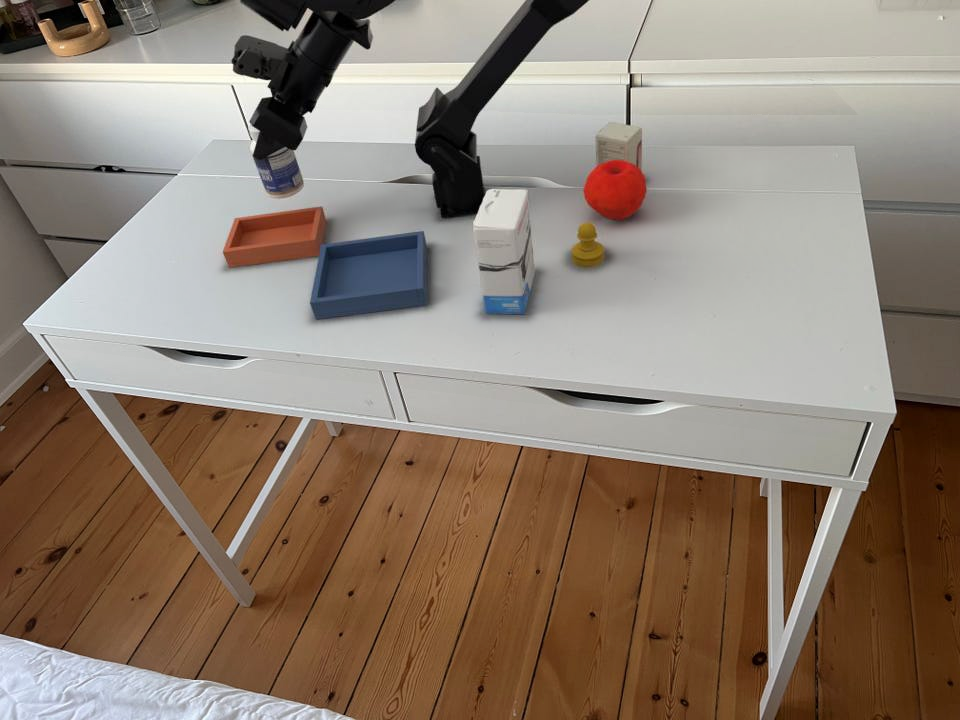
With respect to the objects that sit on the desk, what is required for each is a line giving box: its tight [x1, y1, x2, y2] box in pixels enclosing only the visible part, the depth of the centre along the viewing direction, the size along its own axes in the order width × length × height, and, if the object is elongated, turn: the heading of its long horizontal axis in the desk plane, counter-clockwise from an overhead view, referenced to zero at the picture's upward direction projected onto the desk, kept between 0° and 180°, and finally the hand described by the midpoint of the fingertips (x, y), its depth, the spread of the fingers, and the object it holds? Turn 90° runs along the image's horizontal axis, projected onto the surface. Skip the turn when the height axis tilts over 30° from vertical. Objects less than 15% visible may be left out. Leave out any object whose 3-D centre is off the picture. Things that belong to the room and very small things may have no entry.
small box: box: [594, 121, 643, 172], centre depth 105 cm, size 5×4×8 cm
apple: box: [582, 160, 648, 221], centre depth 99 cm, size 8×8×7 cm
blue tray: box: [309, 230, 428, 320], centre depth 97 cm, size 14×13×3 cm
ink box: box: [472, 188, 536, 315], centre depth 88 cm, size 8×5×12 cm, turn 168°
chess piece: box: [571, 221, 605, 268], centre depth 94 cm, size 4×4×5 cm
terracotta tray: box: [222, 205, 328, 269], centre depth 106 cm, size 13×9×3 cm
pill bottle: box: [247, 123, 305, 200], centre depth 104 cm, size 5×5×10 cm
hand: (260, 147), depth 103 cm, fingers closed on pill bottle, 5 cm apart
